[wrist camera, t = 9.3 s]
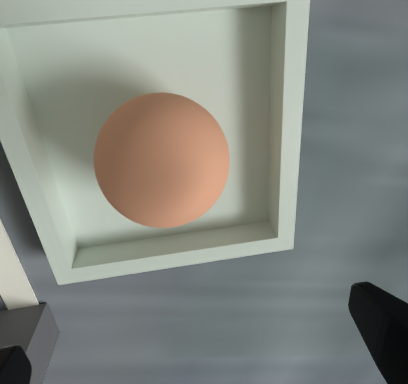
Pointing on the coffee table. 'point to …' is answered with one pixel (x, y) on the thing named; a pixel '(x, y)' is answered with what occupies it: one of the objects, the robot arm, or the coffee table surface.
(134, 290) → the coffee table surface
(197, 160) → the ball
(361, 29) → the coffee table surface
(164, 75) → the tray
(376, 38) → the coffee table surface
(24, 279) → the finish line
